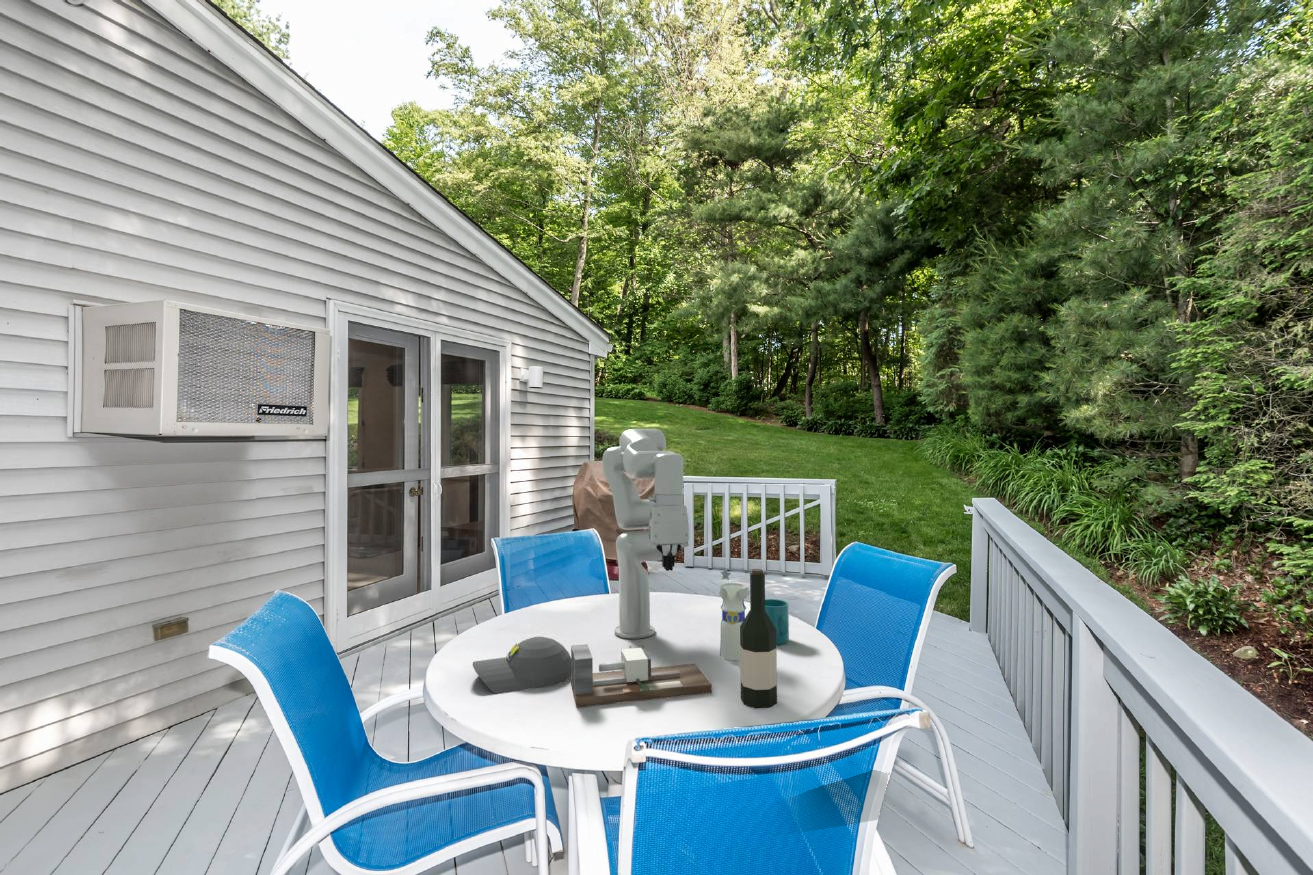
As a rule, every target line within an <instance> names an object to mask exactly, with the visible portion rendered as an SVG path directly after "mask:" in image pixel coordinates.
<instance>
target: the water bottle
mask: <svg viewBox="0 0 1313 875" xmlns="http://www.w3.org/2000/svg"><path fill="white" fill-rule="evenodd" d="M719 573H720V574H721V575H722V580H725V579H726V580H727V581H730V578H729V577H730V575H731V574H732V573H731V572H729V571H728V570H727V567H725V569H724V570H723V571H720V572H719ZM718 596H720V597H721V599H722V604H721V606H720V609H721V618H722V619H721V622H720V646H719V648H720V650H719V657H720V656H721V657H720V658H722V659H723V658H724V659H723V660H725V661H726V660H727V661H732V660H739V661H740V626H741V624H742V622H743V621H744V619H745V617H746V612H745V611H746V609H747V606H746V605H745V601H744V600H745V599H747V598H748V597H750V589H749V587H748V586H747V585H746V584H743V583H740V582H739V583H738V582H727V583H723V584H721V585H720V588H719V591H718Z"/></svg>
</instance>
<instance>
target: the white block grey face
mask: <svg viewBox="0 0 1313 875" xmlns="http://www.w3.org/2000/svg"><path fill="white" fill-rule="evenodd" d="M620 651H621V652H620V654H621V656H620V660H621V661H615V662H614V661H612V662H605V663H603V662H602V663H598V673H600V672H611V671H621V670H622V672H623V674H624V677H625V679H626V681H627V682H634V681H636V682H637V684H638V685H641V682H640V681H644V680H648V676H651V668H652V658H651V657H650V655H649V654H648V652H647V651H646V650H643V649H642V647H637V648H636V647H635V648H634V647H633V648H624V649H623V648H622V649H621V650H620Z"/></svg>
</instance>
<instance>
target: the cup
mask: <svg viewBox="0 0 1313 875" xmlns="http://www.w3.org/2000/svg"><path fill="white" fill-rule="evenodd" d="M789 606H790V605H789V603H788V602H787V601H785V600H783V599H777V598H769V599H768V598H767V599H766V598H765V611H766V613H767V615H768V616H769V618H770V620H771V621H772V623H773V625H774V627H775V628H776V646H779V645H784V644H787V643H788V642H789V641H790V627H789V626H790V623H789V622H790V621H789V620H790V619H789V617H790V615H789V610H790V609H789Z"/></svg>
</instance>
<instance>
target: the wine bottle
mask: <svg viewBox="0 0 1313 875" xmlns="http://www.w3.org/2000/svg"><path fill="white" fill-rule="evenodd" d="M749 592H750V594H749V603H750V604H749V606H750V609H749V611H748V612H747V614H746V615H745V619H744V621H743V622H742V624H741V626H740V660H739V662H740V663H739V664H740V665H739V666H740V700H741V702H742V705H744V706H747V707H750V708H753V709H771V708H773V707H774V706H775V705H777V704H778V679H777V678H778V673H777V672H778V670H777V668H778V665H777V664H778V663H777V660H778V658H777V657H778V656H777V654H778V653H777V645H776V628H775V627H774V625H773V623H772V621H771V620H770V618H769V616H768V615H767V613H766V611H765V599H766V575H765V573H764V570H763V569H761V568H752V569H751V572H750V573H749Z"/></svg>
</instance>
